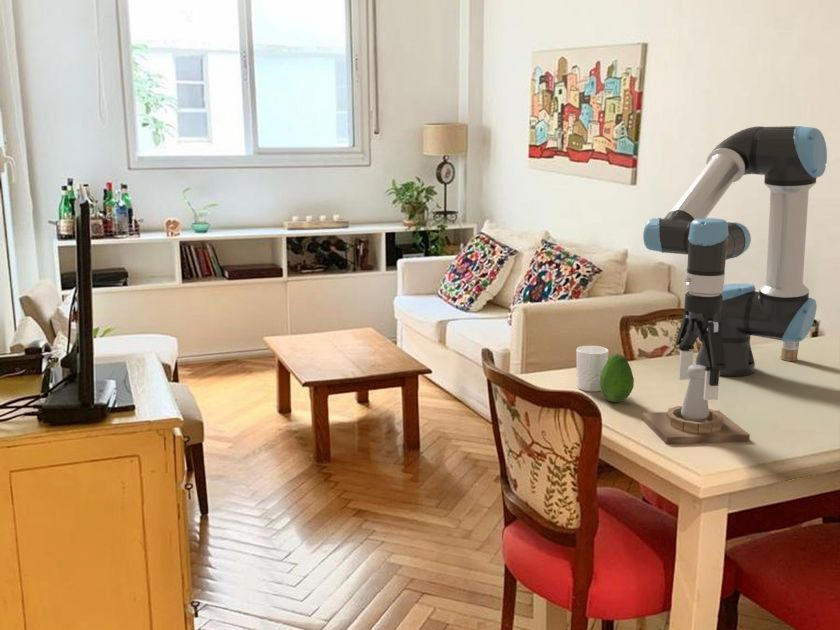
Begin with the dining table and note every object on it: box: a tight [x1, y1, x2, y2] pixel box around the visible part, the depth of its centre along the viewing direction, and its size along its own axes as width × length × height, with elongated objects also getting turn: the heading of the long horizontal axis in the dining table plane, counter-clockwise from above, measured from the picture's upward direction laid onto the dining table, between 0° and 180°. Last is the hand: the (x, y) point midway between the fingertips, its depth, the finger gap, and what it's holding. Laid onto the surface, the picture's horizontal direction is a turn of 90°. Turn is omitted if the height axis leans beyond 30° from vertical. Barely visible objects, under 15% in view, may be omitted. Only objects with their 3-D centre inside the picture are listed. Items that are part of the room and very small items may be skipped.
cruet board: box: [641, 405, 751, 445], centre depth 181 cm, size 18×15×4 cm
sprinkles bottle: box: [780, 341, 800, 362], centre depth 234 cm, size 5×5×13 cm
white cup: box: [576, 345, 610, 392], centre depth 210 cm, size 8×8×10 cm
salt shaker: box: [681, 364, 710, 422], centre depth 180 cm, size 6×6×13 cm
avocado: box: [600, 353, 635, 403], centre depth 199 cm, size 8×8×12 cm
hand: (697, 388), depth 180 cm, fingers open, 13 cm apart
